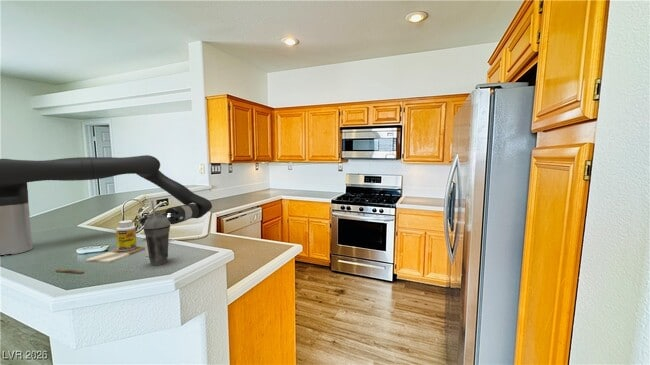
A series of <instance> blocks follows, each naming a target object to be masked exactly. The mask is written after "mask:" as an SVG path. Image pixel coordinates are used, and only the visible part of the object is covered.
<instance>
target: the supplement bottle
mask: <svg viewBox="0 0 650 365" xmlns="http://www.w3.org/2000/svg"><path fill="white" fill-rule="evenodd" d="M133 224H134V223H133V220H130V219H129V220H128V219H126V220H121V221H119V222H118V227H117V228H116V229H115V234H116V249H117V250H118V251H130V250H133V249H135V248H136V247H137V231H136V226H135V225H133Z"/></svg>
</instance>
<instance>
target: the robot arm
mask: <svg viewBox="0 0 650 365" xmlns="http://www.w3.org/2000/svg"><path fill="white" fill-rule="evenodd" d="M160 168H161V162H160V160H159V159H158V158H157V157H155V156H153V155H147V154H146V155H145V154H144V155H136V156H126V157H125V156H124V157H111V156H110V157H108V156H107V157H106V156H105V157H104V156H103V157H100V156H99V157H98V156H96V157H93V156H91V157H89V156H88V157H87V156H84V157H83V156H81V157H80V156H79V157H66V158H65V157H63V158H56V159H48V160H27V159H24V160H23V159H12V158H11V159H10V158H0V255H3V254H12V255H17V254H21V253H25V252H26V253H27V252H28V251H29V252H30V251H31V250H32V249H33V248H34V247H33V238H32V237H33V236H32V227H31V226H32V225H31V224H32V223H31V215H30V205H29V192H28V191H29V190H28V183H34V182H41V181H58V182H59V181H60V182H61V181H63V182H64V181H65V182H66V181H67V182H68V181H69V182H71V181H72V182H73V181H92V180H102V179H105V178H106V179H107V178H112V177H115V176H121V175H130V174H131V175H132V174H133V175H134V174H135V175H137V176H139V177H141V178H142V179H144V180H145V181H148V182H150V183H152V184H154V185H155V186H157V187H159V188H161V190H163V191H165V192H166V193H168V194H169V195H171V196H172V197H173V198H175V199H176V200H177V201H179V202H180V203H181V204H183V205H177V206H171V207H169V208H167V209H166V210H165V212H160V214H161V215H164V216H165V217H167V218H168V220H169V222H170V225H176V224H179V223H183V222H186V221H187V220H190V219H200V218H203V217H204V216H205V215H206V214H207V213H208V212H209V211H211V210H212V208H213V205H212V202H211V201H210V200H209V199H208V198H206V197H204V196H200V195H199V194H196V193H195V192H192V191H191V190H190V189H189V188H188V187H186V186H184V185H183V184H182V183H180V182H178V181H176V180H174V179H171V178H170V177H168V176H167V175H165V174H164V173H162V171H161V170H160ZM155 214H158V213H156V212H155ZM151 215H153V213H152V214H147V215H144V217H141V218H140V219H139V224H140V225H144V223H145V221H146V220H147V218H148V217H150V216H151Z"/></svg>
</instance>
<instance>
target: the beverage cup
mask: <svg viewBox="0 0 650 365" xmlns="http://www.w3.org/2000/svg"><path fill="white" fill-rule="evenodd" d="M150 203H151V208H152V214H153V215H151V214H150V215H151V216H150V217H148V218H147V220H146V221H145V223H144V224H143V228H142V229H143V232H144V235H145V241H146V244H147V247H148V253H149V256H148V259H149V262H150V266H154V267H155V266H161V265H165V264H166V263H168V258H169V257H168V255H169V237H170V236H169V235H170V229H171V224H170V222H169V220H168V218H167V217H165V216H164V215H161V213H157V214H155V213H156V210H155V205H154V200H151V201H150Z"/></svg>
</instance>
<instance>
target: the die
mask: <svg viewBox="0 0 650 365" xmlns="http://www.w3.org/2000/svg"><path fill="white" fill-rule="evenodd" d="M144 247H145V249H144V254H145V255H144V257H149V253H148V247H147V243H144Z"/></svg>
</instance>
